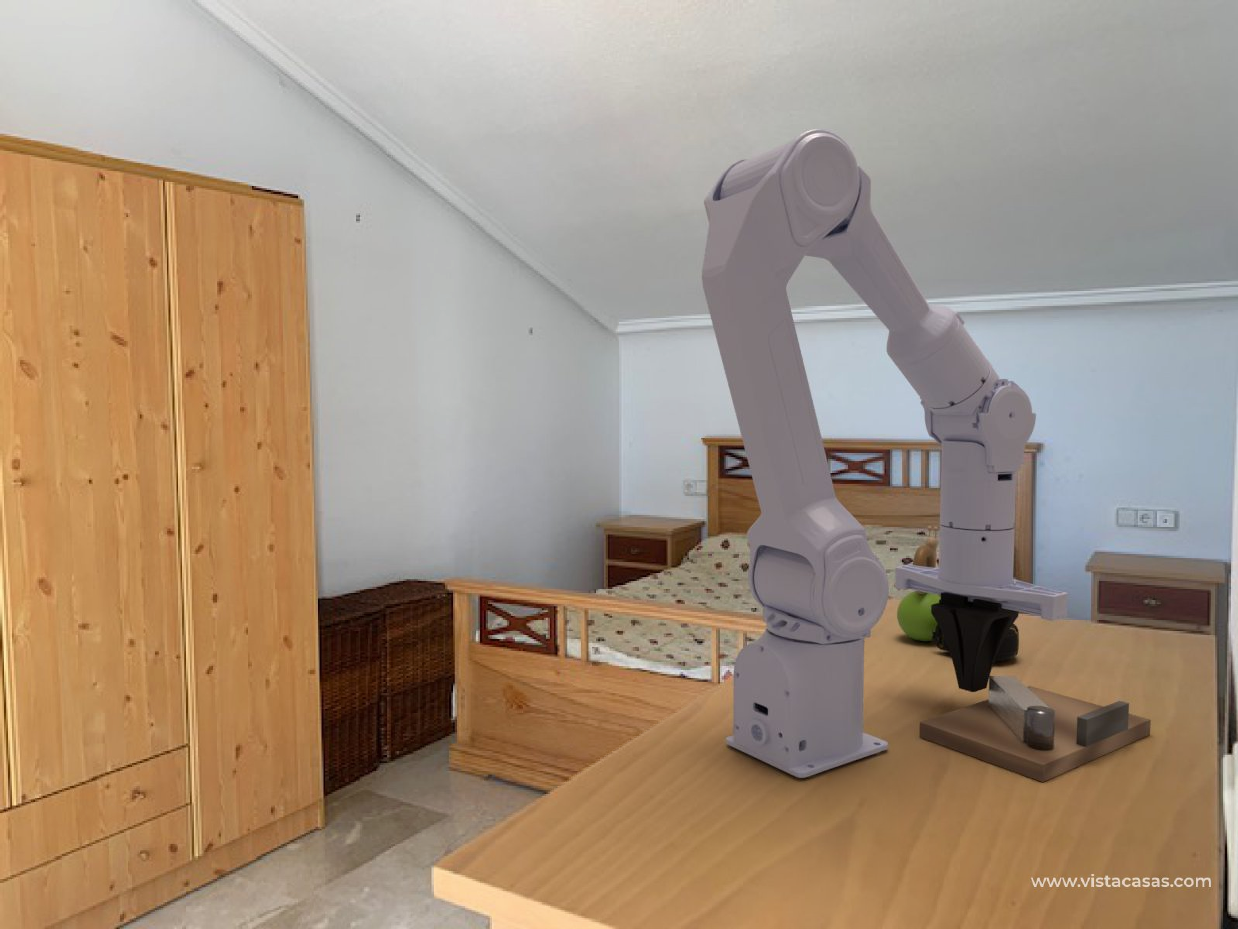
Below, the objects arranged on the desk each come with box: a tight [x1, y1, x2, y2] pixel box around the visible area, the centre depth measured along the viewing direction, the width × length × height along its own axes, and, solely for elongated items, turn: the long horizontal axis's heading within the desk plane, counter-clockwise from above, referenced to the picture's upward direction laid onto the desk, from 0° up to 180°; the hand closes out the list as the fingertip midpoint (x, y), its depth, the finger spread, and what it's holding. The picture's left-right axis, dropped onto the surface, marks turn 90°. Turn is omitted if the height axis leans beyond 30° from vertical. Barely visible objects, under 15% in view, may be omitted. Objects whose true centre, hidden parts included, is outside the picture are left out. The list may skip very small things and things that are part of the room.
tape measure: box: [932, 623, 1020, 662], centre depth 91 cm, size 7×7×4 cm
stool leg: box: [988, 675, 1055, 750], centre depth 68 cm, size 9×2×3 cm, turn 175°
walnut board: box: [919, 685, 1152, 783], centre depth 70 cm, size 15×10×3 cm, turn 125°
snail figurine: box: [896, 525, 941, 642], centre depth 97 cm, size 5×6×12 cm
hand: (972, 688), depth 75 cm, fingers closed
